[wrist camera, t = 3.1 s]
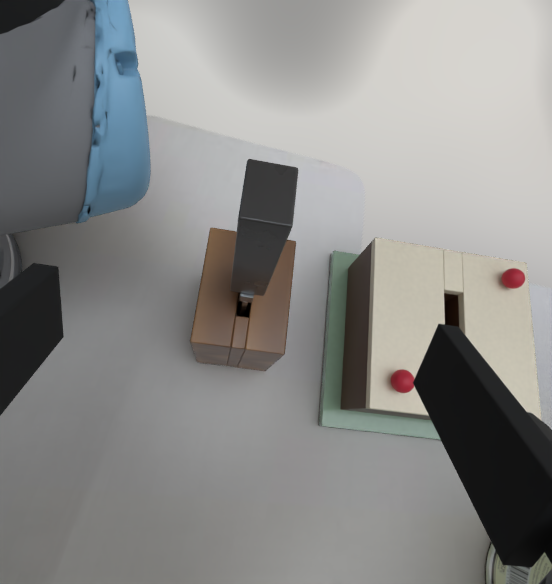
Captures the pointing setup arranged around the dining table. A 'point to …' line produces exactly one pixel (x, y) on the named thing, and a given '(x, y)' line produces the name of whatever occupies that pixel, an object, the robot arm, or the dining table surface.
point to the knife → (262, 227)
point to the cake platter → (334, 368)
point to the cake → (432, 323)
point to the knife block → (224, 310)
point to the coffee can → (515, 570)
